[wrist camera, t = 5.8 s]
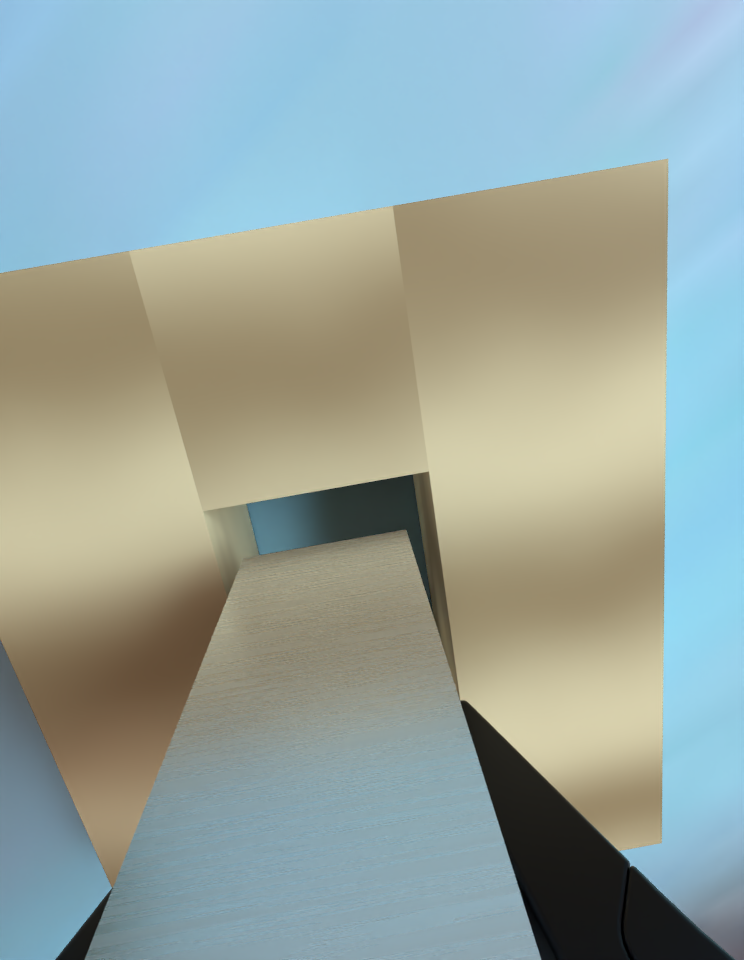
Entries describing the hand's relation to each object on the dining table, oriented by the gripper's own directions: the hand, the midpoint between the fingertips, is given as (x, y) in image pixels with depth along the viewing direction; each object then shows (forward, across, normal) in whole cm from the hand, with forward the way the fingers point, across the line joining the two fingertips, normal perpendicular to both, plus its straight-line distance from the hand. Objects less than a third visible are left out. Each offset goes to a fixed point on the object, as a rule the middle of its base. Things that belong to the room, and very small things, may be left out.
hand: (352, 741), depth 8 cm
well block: (+6, 0, 0) cm, 7 cm away
